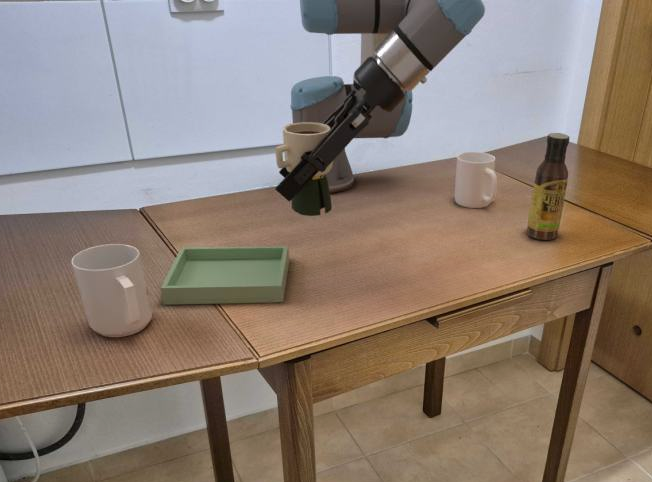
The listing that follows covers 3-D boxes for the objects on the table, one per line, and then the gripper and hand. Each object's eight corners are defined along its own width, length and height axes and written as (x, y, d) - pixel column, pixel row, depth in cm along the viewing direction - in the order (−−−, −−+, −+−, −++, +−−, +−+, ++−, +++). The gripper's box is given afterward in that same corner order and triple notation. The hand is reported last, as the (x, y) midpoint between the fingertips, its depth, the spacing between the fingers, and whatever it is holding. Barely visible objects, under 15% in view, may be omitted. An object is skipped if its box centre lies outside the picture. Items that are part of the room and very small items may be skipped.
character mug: (294, 227, 96) (287, 139, 89) (270, 212, 101) (261, 128, 93) (353, 210, 102) (351, 127, 95) (327, 197, 107) (323, 117, 100)
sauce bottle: (537, 243, 126) (552, 141, 115) (520, 232, 131) (533, 132, 120) (564, 239, 128) (581, 137, 118) (546, 228, 133) (561, 129, 122)
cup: (476, 193, 150) (480, 150, 144) (508, 210, 141) (514, 164, 136) (447, 199, 146) (449, 154, 141) (478, 216, 137) (482, 169, 132)
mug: (81, 322, 96) (62, 254, 90) (140, 304, 101) (125, 238, 95) (111, 356, 89) (92, 284, 83) (173, 335, 94) (159, 266, 88)
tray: (183, 262, 114) (181, 247, 113) (289, 261, 116) (288, 245, 115) (163, 304, 101) (160, 288, 100) (283, 302, 103) (281, 285, 101)
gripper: (415, 109, 85) (299, 227, 92) (402, 80, 102) (305, 181, 109) (375, 66, 81) (258, 191, 89) (368, 43, 98) (270, 150, 105)
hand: (284, 185), depth 99 cm, fingers closed on character mug, 7 cm apart
